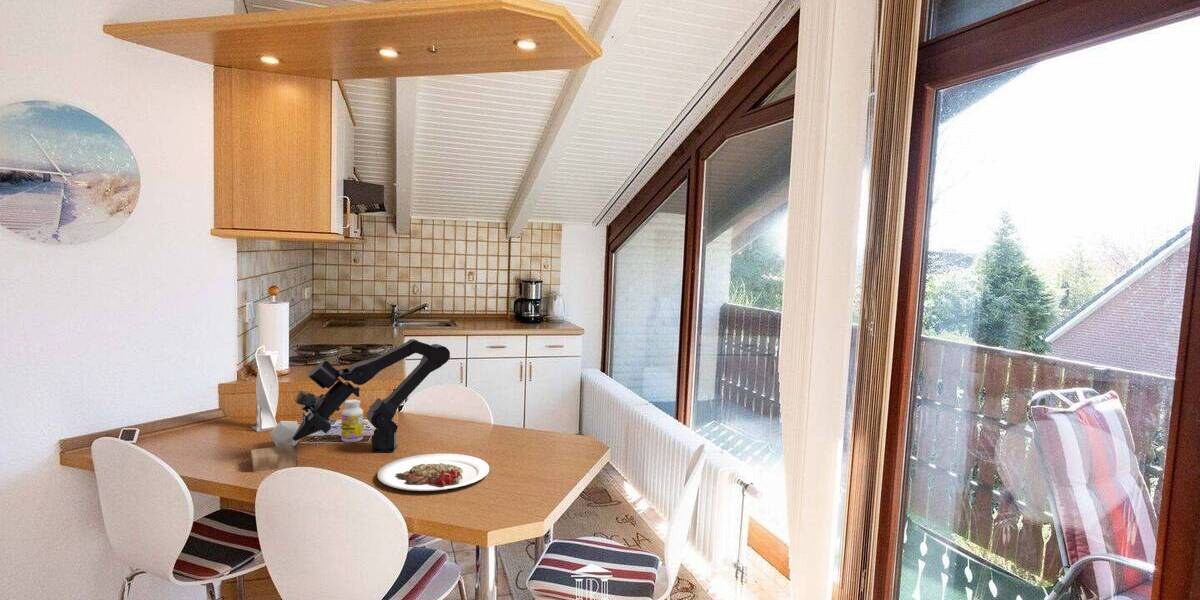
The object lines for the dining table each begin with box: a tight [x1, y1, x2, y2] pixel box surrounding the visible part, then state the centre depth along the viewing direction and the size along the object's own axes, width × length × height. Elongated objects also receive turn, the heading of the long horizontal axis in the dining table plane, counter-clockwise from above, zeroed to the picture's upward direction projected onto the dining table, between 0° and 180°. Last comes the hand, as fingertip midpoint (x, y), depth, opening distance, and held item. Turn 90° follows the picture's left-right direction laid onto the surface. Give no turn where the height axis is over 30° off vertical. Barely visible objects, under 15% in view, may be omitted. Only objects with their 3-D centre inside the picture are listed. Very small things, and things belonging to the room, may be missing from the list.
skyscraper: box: [251, 345, 280, 433], centre depth 223 cm, size 8×8×28 cm
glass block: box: [250, 445, 298, 473], centre depth 186 cm, size 4×9×11 cm
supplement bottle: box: [340, 399, 364, 443], centre depth 211 cm, size 7×7×13 cm
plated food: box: [377, 452, 490, 492], centre depth 180 cm, size 30×30×3 cm
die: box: [269, 420, 301, 447], centre depth 203 cm, size 8×9×10 cm
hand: (293, 439), depth 188 cm, fingers closed
